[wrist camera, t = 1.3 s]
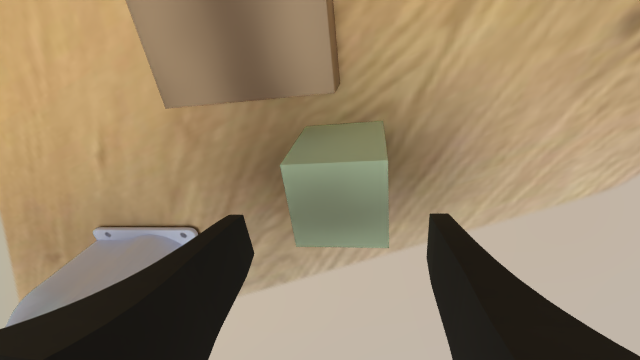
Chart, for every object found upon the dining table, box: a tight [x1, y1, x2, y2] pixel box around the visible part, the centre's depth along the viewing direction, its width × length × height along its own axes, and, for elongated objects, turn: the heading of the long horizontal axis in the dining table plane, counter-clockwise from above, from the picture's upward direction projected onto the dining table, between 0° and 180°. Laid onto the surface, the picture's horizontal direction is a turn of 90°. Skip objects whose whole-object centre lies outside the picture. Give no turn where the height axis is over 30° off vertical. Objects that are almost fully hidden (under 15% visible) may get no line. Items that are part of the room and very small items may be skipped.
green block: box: [280, 121, 389, 248], centre depth 15 cm, size 4×4×6 cm
